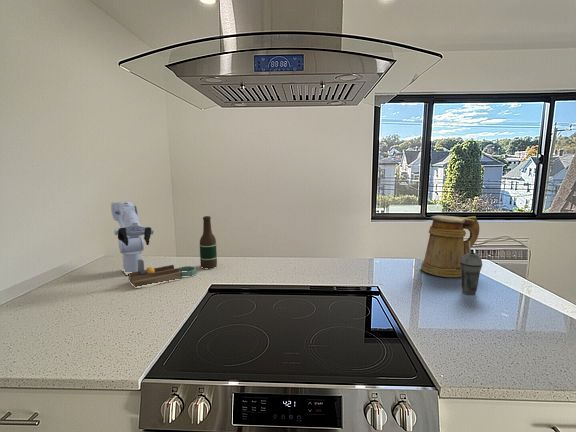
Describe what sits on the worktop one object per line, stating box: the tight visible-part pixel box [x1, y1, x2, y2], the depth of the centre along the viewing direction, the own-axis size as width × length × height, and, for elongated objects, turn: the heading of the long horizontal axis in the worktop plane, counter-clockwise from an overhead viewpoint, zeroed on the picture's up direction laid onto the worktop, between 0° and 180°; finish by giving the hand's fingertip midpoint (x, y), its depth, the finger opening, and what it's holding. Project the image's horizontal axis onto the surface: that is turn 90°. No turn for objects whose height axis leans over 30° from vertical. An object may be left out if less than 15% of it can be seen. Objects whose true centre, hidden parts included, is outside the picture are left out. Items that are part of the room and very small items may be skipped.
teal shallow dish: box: [178, 265, 197, 277], centre depth 154 cm, size 8×8×2 cm
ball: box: [145, 266, 155, 274], centre depth 144 cm, size 4×4×4 cm
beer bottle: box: [199, 215, 218, 269], centre depth 162 cm, size 8×8×24 cm
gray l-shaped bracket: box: [137, 258, 146, 276], centre depth 142 cm, size 4×2×7 cm, turn 38°
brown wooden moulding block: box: [128, 264, 182, 287], centre depth 145 cm, size 10×18×4 cm, turn 128°
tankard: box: [420, 215, 480, 278], centre depth 154 cm, size 18×24×25 cm
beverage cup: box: [460, 241, 483, 296], centre depth 129 cm, size 7×7×20 cm
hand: (137, 243), depth 137 cm, fingers open, 7 cm apart
